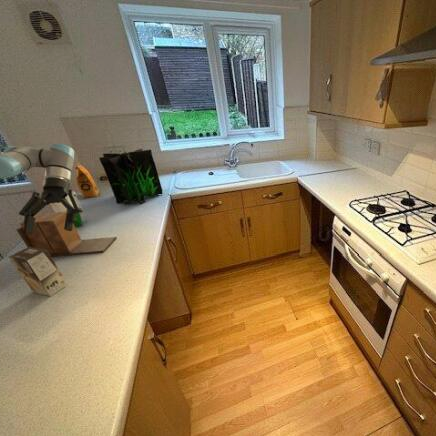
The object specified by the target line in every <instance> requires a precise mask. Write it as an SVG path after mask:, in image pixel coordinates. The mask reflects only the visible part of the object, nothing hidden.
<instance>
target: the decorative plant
mask: <svg viewBox="0 0 436 436" xmlns="http://www.w3.org/2000/svg"><path fill="white" fill-rule="evenodd" d="M98 159H99V162H100V164H101V166H102V168H103V170H104V173H105V176H106V178H107V180H108V183H109V186H110V188H111V191H112V193H113V196H114V199H115V202H116V203H117V204H118V205H119V204H123V203H124V201H125V204H124V206H127V205H128V206H130V205H131V204H133V202H134V201H136V200H139V202H140V205H142V204H144V203H146V202H145V201H146V199H145V198H146V197H144V196H149V197H156V196H155V195H157V196H159V195H158V194H163V193H164V192H163V187H162V184H161V180H160V176H159V173H158V169H157V166H156V162H155V161H154V157H153V153H152V149H145V150H144V149H143V148H139V149H136V150H134V151H129V152H127V151H126V150H125V151H124V152H122V153H102V157H101V156H99V157H98ZM163 195H164V194H163ZM135 199H136V200H135ZM133 200H134V201H133ZM143 202H144V203H143Z"/></svg>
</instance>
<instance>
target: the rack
mask: <svg viewBox="0 0 436 436" xmlns="http://www.w3.org/2000/svg"><path fill="white" fill-rule="evenodd" d="M67 213H68V212H55V211H54V212H44V213H37V214H36V215H35V216H34V218H35V223H34V228H33V233H32V234H26V233H23V230H24V226H25V225H24V224H23V222H24V220H23V221H21V222H19V225H20V226H19V227H18V228H16V232H17V233H18V235H19V236H20V238H21V239H22V242H23V243H24V244H25V246H26V248H28V247H32V248H38V249H44V250H47V251H48V252H49V254H50V256H51V257H52V258H58V257H68V256H82V255H92V254H103V253H105V252H106V251H107V250H108V248H109V247H110V246H111V245H112V244H113V243H114V242H115V241H116V240H117V236H113V237H112V236H111V237H100V238H99V237H98V238H97V237H96V238H86V239H82V238H81V236H80V234H79V232H78V230H77V227H75V226H74V224H73V227H72V231H68V230H65V229H64V227H65V221H66V215H67Z"/></svg>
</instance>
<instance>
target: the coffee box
mask: <svg viewBox="0 0 436 436" xmlns="http://www.w3.org/2000/svg"><path fill="white" fill-rule="evenodd" d="M8 259H9V260H10V262H11V263H12V265H13V266H14V267H15V268H16V270H17V271H18V273H19V274H20V275H21V277H22V278H23V280H24V281H25V282H26V284H27V285H28V287H29V288H30V290H31V292H33V293H34V294H40V295H44V296H48V297H52V296H53V295H55V294H56V293H57V292H59V291H61V290H63V289H64V288H65V287H67V286H68V284H69V283H67V281H66V279H65V278H64V275H63V274H62V273H61V270H60V269H59V267H58V266H57V264H56V262H55V261H54V259H53V257H51V256H50V254H49V252H48V251H47V250H44V249H38V248H32V247H26V248H23V249H21V250H19V251H16V252H15V253H14V254H11V255H9V256H8Z"/></svg>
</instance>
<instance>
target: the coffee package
mask: <svg viewBox="0 0 436 436" xmlns="http://www.w3.org/2000/svg"><path fill="white" fill-rule="evenodd" d="M74 169H75V170H76V172H75V181H76V185H77V187H78V190H79V191H80V193H81V195H82V197H83V199H87V198H88V199H89V198H95V197H98V194H100V191H99V189H98V187H97V184H96V181H95V180H94V178H93V177H92V175H91V174H90V172H89V171H88V170H87V168H86V167H84V166H83V165H81V164H80V163H76V165H75V167H74Z"/></svg>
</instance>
